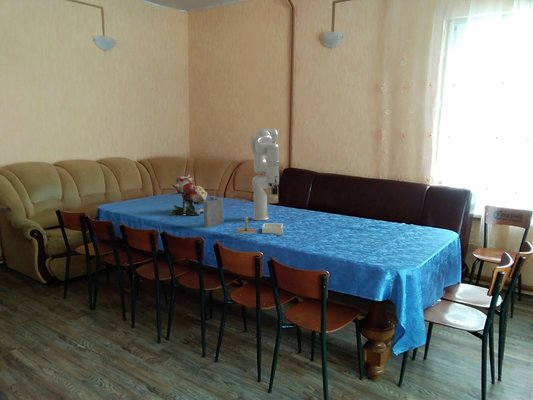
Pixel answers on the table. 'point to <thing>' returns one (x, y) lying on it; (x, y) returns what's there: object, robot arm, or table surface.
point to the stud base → (250, 230)
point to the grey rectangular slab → (213, 212)
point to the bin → (273, 228)
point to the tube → (271, 195)
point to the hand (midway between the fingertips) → (272, 193)
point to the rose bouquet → (188, 196)
